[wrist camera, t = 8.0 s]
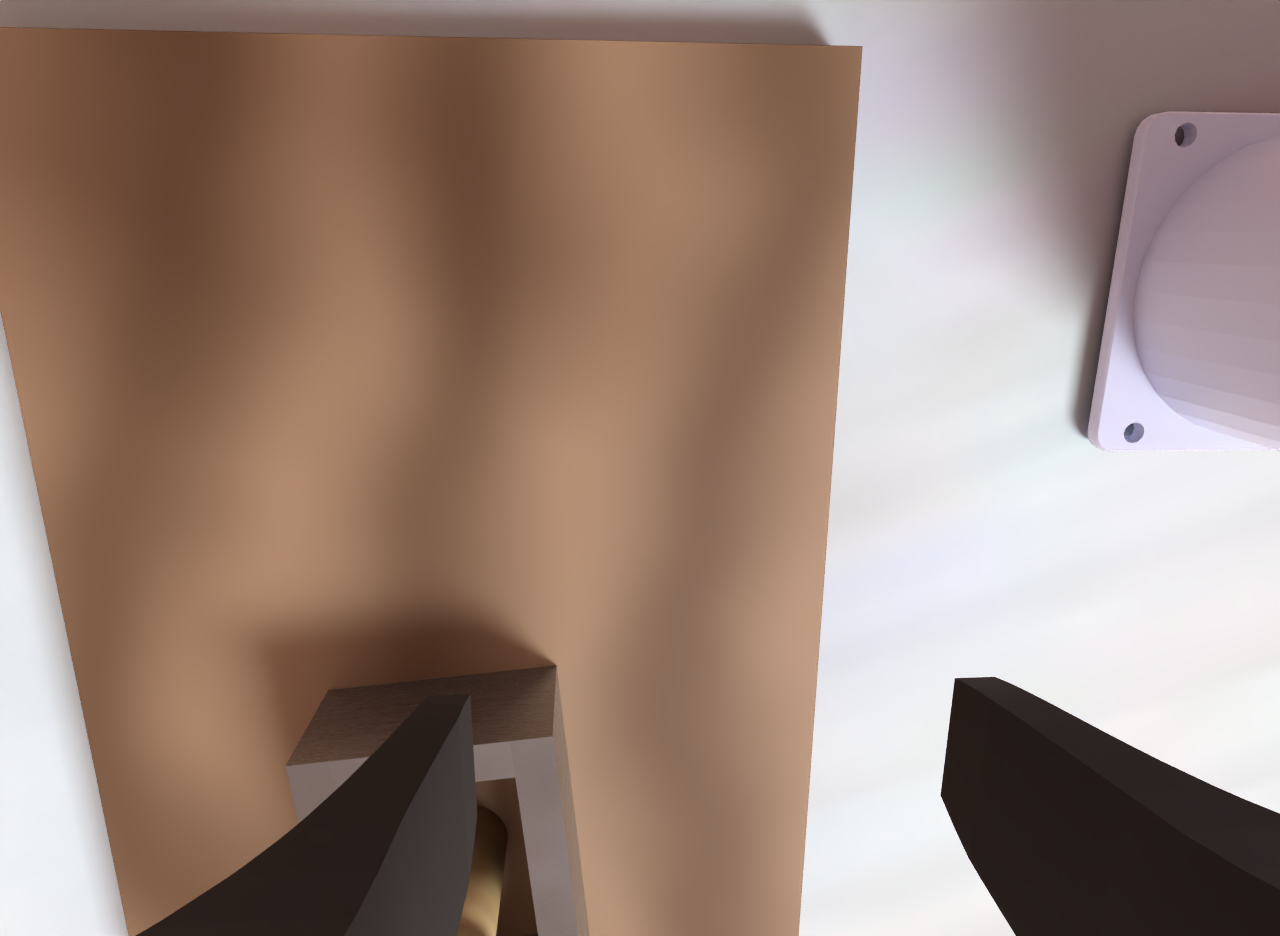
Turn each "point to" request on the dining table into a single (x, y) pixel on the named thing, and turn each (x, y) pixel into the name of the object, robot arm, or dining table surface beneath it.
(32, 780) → the dining table surface
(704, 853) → the keeper board
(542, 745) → the silver rectangular frame
